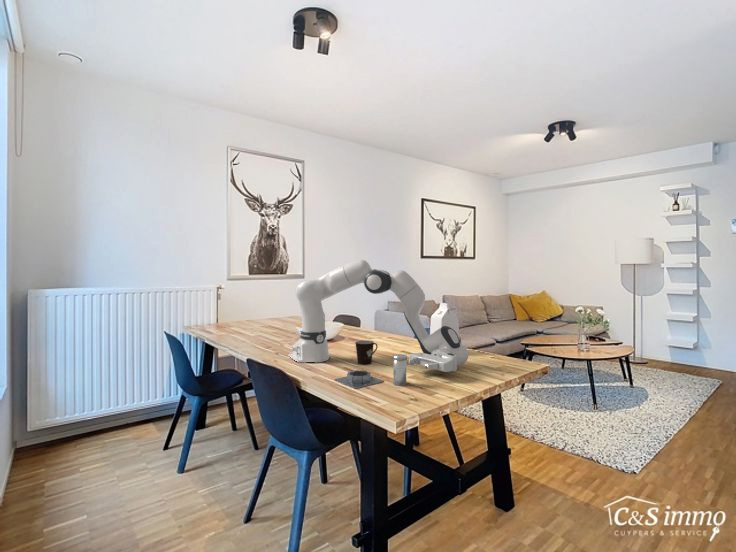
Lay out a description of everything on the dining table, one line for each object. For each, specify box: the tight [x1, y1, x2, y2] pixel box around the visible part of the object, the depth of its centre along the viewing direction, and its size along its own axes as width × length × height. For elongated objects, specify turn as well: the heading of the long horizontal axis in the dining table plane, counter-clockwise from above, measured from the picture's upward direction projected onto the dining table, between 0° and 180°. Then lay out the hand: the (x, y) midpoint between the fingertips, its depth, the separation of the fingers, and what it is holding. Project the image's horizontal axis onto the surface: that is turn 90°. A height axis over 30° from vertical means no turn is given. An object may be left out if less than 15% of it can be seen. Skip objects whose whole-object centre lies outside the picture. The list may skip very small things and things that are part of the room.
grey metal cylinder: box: [392, 353, 408, 387], centre depth 150 cm, size 5×5×11 cm
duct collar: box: [333, 369, 385, 390], centre depth 154 cm, size 14×14×3 cm
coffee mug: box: [354, 339, 379, 366], centre depth 183 cm, size 12×9×10 cm
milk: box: [429, 302, 460, 341], centre depth 206 cm, size 12×12×26 cm
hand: (418, 364), depth 157 cm, fingers open, 8 cm apart
